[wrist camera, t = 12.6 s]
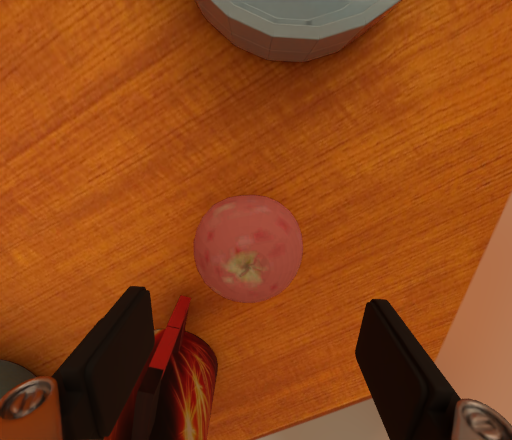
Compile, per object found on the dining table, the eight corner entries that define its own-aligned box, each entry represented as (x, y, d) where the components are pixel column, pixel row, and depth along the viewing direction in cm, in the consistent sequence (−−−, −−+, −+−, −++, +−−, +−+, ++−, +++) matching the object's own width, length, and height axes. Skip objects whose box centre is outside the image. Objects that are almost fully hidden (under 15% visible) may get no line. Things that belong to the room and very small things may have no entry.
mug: (192, 285, 24) (135, 428, 12) (227, 390, 28) (208, 564, 17) (95, 303, 24) (-46, 454, 13) (144, 402, 29) (72, 579, 17)
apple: (204, 261, 23) (179, 325, 15) (208, 180, 20) (180, 209, 13) (285, 268, 23) (301, 335, 15) (298, 190, 21) (325, 223, 13)
